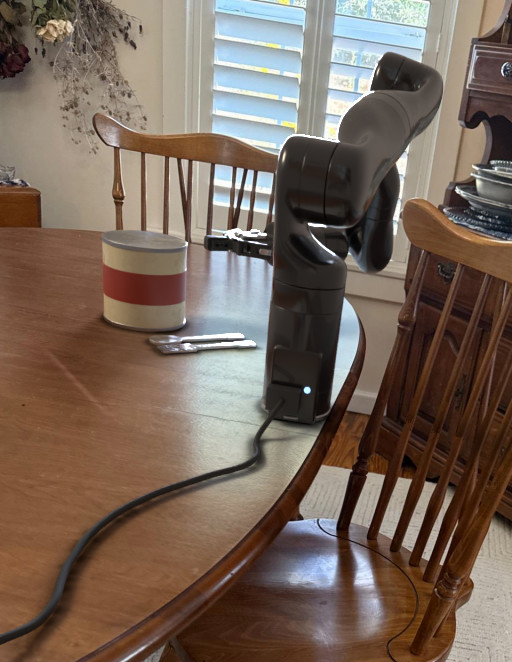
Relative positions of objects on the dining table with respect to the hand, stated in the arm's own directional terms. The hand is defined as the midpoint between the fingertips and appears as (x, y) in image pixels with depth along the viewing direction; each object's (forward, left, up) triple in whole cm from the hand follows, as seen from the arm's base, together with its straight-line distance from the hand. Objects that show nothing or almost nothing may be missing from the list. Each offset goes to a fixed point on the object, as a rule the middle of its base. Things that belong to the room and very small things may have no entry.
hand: (205, 243), depth 129 cm
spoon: (-13, -2, -13) cm, 18 cm away
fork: (-16, -5, -13) cm, 21 cm away
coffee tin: (-7, +8, -13) cm, 16 cm away
